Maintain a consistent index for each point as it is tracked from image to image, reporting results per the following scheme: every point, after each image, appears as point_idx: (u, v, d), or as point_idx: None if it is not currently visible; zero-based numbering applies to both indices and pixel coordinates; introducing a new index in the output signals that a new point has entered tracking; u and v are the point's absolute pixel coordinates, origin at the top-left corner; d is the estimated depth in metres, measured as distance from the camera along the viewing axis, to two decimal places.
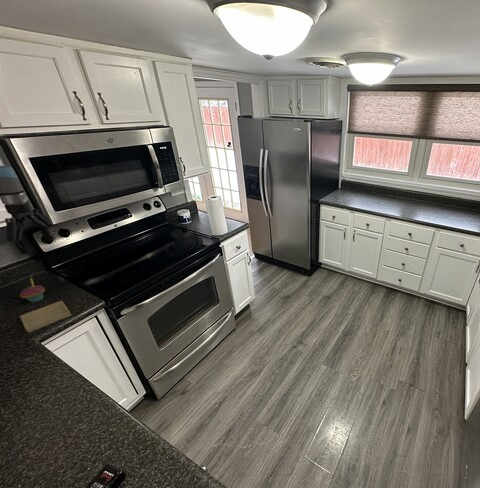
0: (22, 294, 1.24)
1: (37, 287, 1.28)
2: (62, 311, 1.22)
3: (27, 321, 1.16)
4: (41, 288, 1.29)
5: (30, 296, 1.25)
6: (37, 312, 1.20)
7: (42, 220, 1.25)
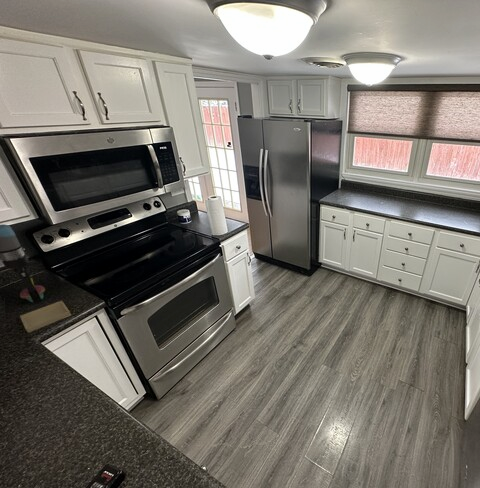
0: (22, 294, 1.24)
1: (37, 287, 1.28)
2: (62, 311, 1.22)
3: (27, 321, 1.16)
4: (41, 288, 1.29)
5: (30, 296, 1.25)
6: (37, 312, 1.20)
7: None
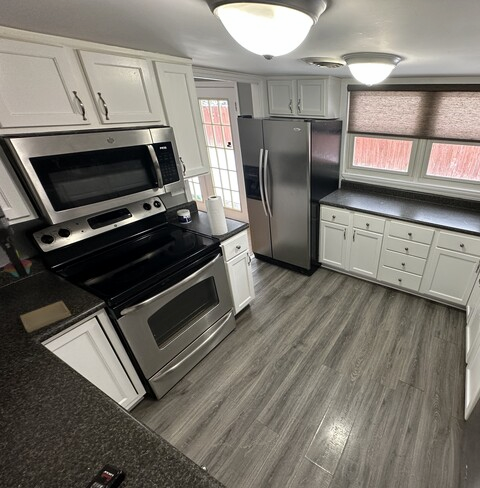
0: (6, 267, 1.16)
1: (23, 261, 1.20)
2: (62, 311, 1.22)
3: (27, 321, 1.16)
4: (27, 262, 1.21)
5: None
6: (37, 312, 1.20)
7: None
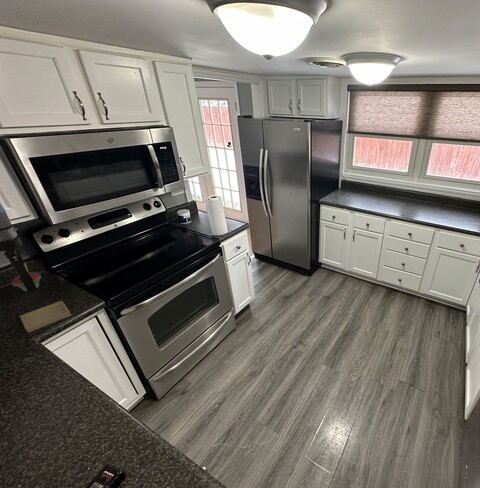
0: (14, 281, 1.08)
1: (31, 274, 1.11)
2: (62, 311, 1.22)
3: (27, 321, 1.16)
4: (36, 275, 1.13)
5: None
6: (37, 312, 1.20)
7: None
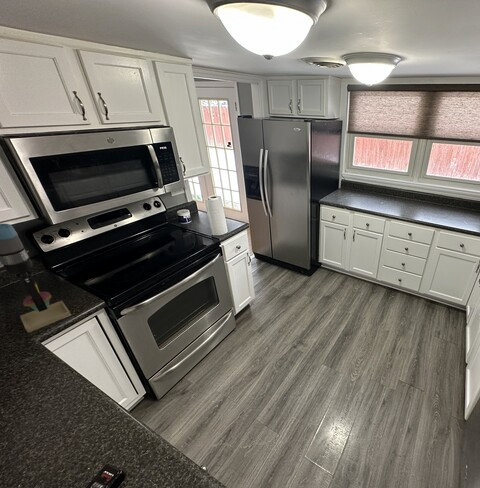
0: (26, 302, 1.11)
1: (42, 294, 1.14)
2: (62, 311, 1.22)
3: (27, 321, 1.16)
4: (47, 295, 1.16)
5: None
6: (37, 312, 1.20)
7: None
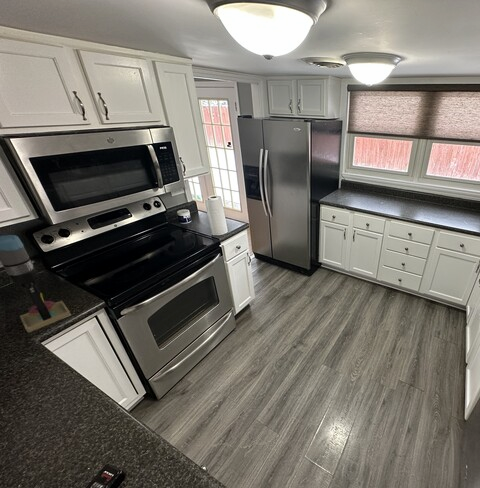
0: (31, 311, 1.13)
1: (47, 304, 1.17)
2: (62, 311, 1.22)
3: (27, 321, 1.16)
4: (52, 304, 1.18)
5: None
6: None
7: None
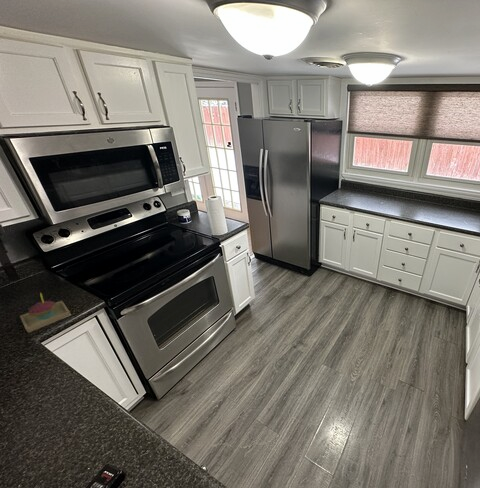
0: (31, 311, 1.13)
1: (47, 304, 1.17)
2: (62, 311, 1.22)
3: (27, 321, 1.16)
4: (52, 304, 1.18)
5: (40, 313, 1.14)
6: None
7: None
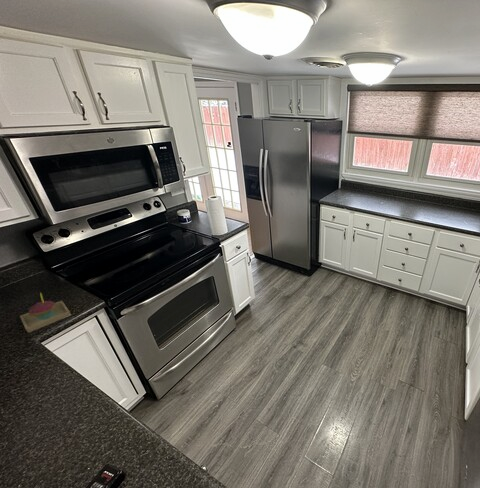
0: (31, 311, 1.13)
1: (47, 304, 1.17)
2: (62, 311, 1.22)
3: (27, 321, 1.16)
4: (52, 304, 1.18)
5: (40, 313, 1.14)
6: None
7: None
